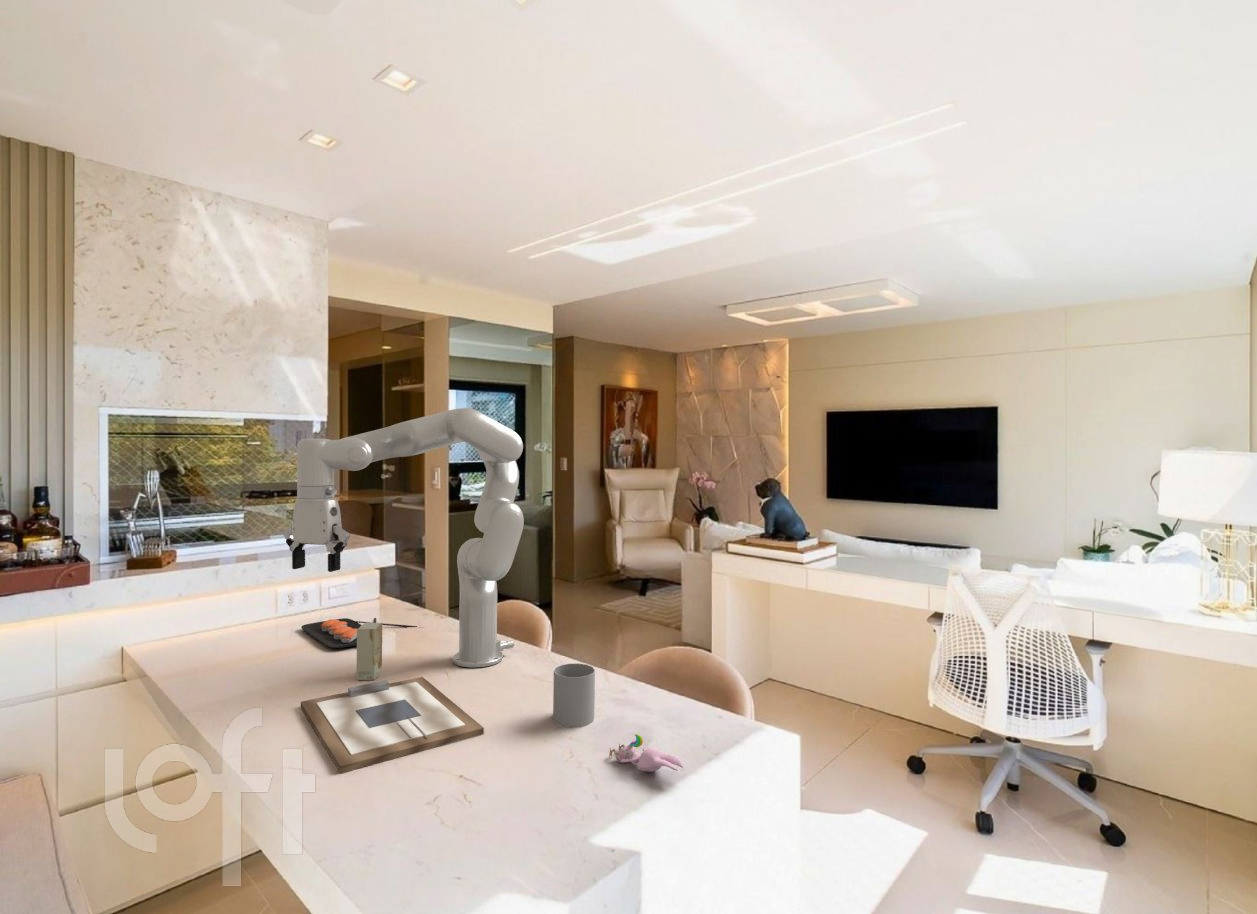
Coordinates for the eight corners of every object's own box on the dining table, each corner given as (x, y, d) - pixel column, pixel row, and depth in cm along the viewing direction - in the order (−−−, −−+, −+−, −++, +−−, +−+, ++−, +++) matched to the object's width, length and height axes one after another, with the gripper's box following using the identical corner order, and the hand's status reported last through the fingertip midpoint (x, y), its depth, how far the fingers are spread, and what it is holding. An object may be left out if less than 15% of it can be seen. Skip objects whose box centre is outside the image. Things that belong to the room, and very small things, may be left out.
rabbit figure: (603, 770, 115) (669, 786, 105) (600, 735, 115) (665, 748, 105) (627, 757, 119) (692, 772, 109) (623, 724, 120) (688, 735, 110)
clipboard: (422, 681, 152) (422, 669, 152) (483, 734, 125) (483, 719, 125) (300, 707, 136) (300, 694, 136) (340, 773, 109) (340, 757, 109)
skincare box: (374, 680, 152) (375, 629, 152) (355, 681, 152) (356, 629, 152) (382, 671, 159) (383, 621, 159) (364, 671, 158) (364, 621, 158)
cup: (600, 714, 135) (600, 666, 135) (584, 730, 127) (585, 679, 127) (563, 708, 138) (564, 661, 138) (546, 723, 130) (546, 674, 130)
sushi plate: (298, 631, 193) (298, 618, 193) (396, 615, 213) (396, 603, 213) (331, 655, 172) (331, 641, 172) (436, 634, 192) (437, 621, 192)
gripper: (359, 493, 146) (360, 568, 147) (297, 491, 151) (298, 564, 152) (335, 495, 139) (336, 575, 139) (271, 493, 144) (271, 570, 144)
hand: (316, 569), depth 146 cm, fingers open, 9 cm apart
